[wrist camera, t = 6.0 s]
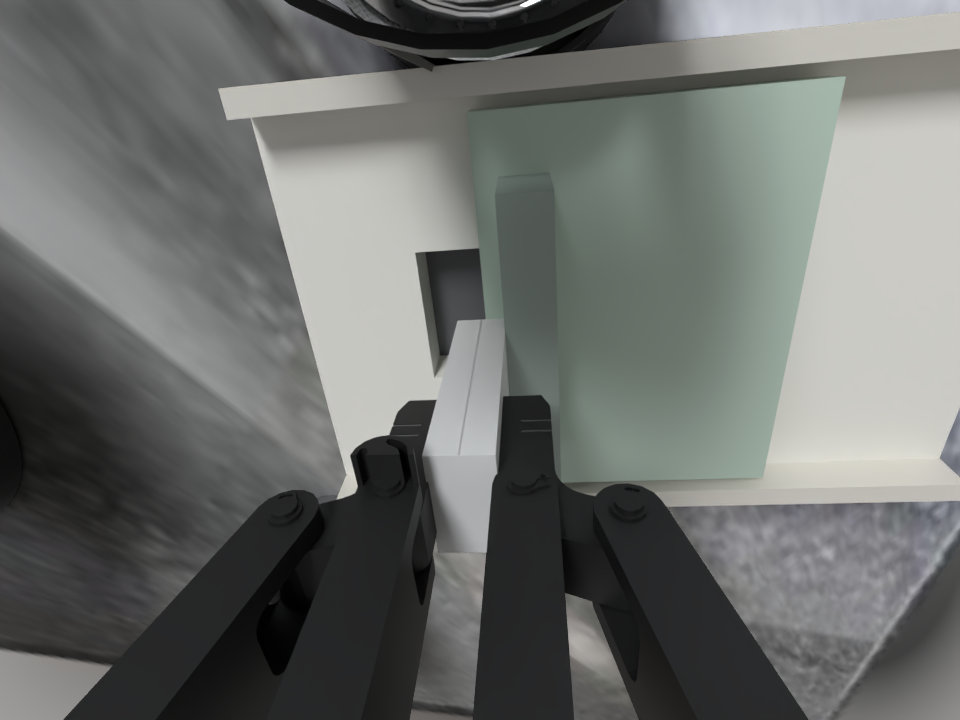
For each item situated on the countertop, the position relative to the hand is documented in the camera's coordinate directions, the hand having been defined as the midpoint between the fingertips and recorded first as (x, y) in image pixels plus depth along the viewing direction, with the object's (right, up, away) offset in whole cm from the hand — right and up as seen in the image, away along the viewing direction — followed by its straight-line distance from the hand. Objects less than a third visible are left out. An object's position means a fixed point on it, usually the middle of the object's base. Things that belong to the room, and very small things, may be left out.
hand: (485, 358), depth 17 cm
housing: (+5, +3, +4) cm, 7 cm away
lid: (+5, +2, +2) cm, 6 cm away
